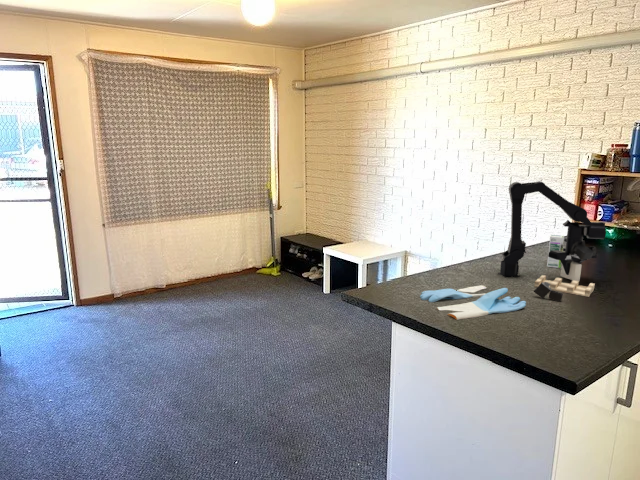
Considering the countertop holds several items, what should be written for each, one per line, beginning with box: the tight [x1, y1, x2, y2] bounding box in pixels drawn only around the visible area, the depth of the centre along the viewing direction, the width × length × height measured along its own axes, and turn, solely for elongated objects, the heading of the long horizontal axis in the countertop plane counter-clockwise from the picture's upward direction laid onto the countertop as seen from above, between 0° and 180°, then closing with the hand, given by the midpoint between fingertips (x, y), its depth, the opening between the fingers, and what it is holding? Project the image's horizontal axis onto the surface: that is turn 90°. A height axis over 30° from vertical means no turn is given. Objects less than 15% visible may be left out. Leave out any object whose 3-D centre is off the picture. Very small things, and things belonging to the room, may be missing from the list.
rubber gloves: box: [419, 284, 527, 321], centre depth 165 cm, size 27×33×6 cm
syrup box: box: [546, 234, 565, 269], centre depth 213 cm, size 6×6×14 cm
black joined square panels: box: [533, 282, 564, 302], centre depth 168 cm, size 9×2×6 cm
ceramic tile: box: [560, 261, 583, 282], centre depth 191 cm, size 2×8×7 cm, turn 12°
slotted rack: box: [533, 274, 596, 298], centre depth 181 cm, size 12×19×2 cm, turn 52°
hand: (570, 274), depth 192 cm, fingers closed on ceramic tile, 2 cm apart
